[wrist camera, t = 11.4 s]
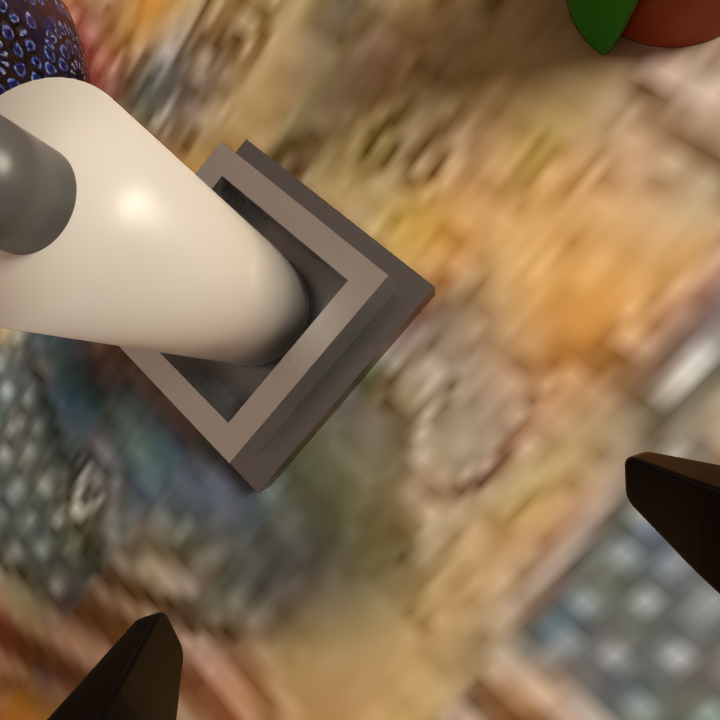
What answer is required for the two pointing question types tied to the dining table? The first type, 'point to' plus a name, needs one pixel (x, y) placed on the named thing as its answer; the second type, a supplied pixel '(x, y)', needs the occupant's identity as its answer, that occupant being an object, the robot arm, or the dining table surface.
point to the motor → (646, 21)
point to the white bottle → (129, 238)
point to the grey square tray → (321, 333)
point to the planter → (39, 43)
